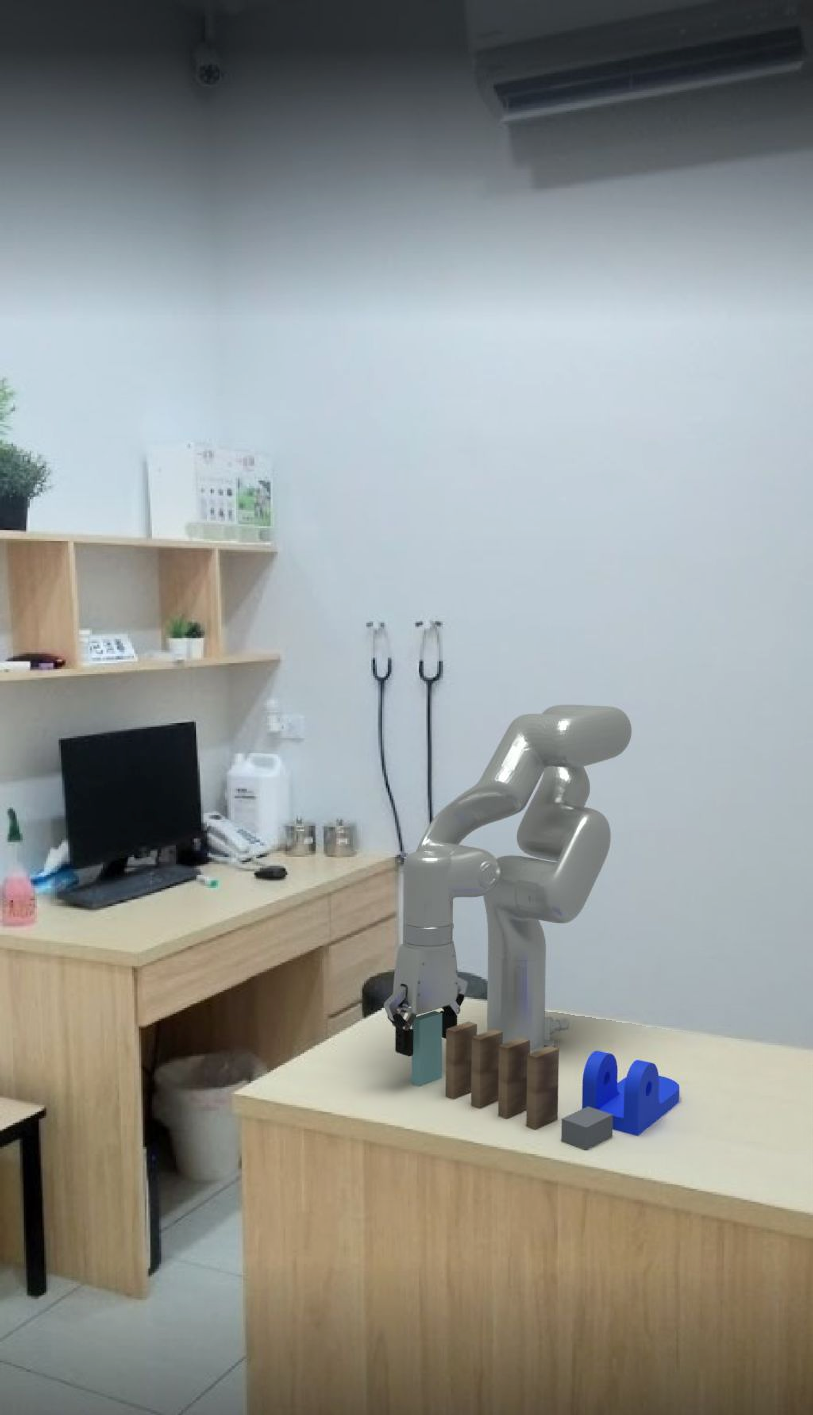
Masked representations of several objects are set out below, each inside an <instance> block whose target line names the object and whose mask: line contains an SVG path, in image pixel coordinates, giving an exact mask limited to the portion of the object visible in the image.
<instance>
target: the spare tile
mask: <svg viewBox="0 0 813 1415" xmlns="http://www.w3.org/2000/svg"><path fill="white" fill-rule="evenodd" d="M411 1029H413V1031H414V1040H413V1055H412V1056H411V1084H412V1085H415V1086H417V1087H421V1086H424V1085H427V1084H429V1083H432V1082H434V1081H437V1080H440V1079H442V1078H443V1038H442V1013H440V1011H437V1010H433V1011H430V1012H426V1013H423V1014H419V1015H417V1016H416V1018H415V1020H414V1022H413V1024H412V1026H411Z"/></svg>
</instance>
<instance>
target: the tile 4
mask: <svg viewBox="0 0 813 1415" xmlns="http://www.w3.org/2000/svg"><path fill="white" fill-rule="evenodd" d="M527 1054H530V1040H529V1039H525V1038H522V1037H521V1038H518V1039H515V1040H513V1041H510V1042H507V1043H505V1044H502V1045H499V1081H498V1102H497V1117H499V1118H502V1119H506V1120H508V1119H511V1118H514V1117H515V1116H517V1115H521V1114H522V1113H524V1112H527Z"/></svg>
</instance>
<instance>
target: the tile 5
mask: <svg viewBox="0 0 813 1415" xmlns="http://www.w3.org/2000/svg"><path fill="white" fill-rule="evenodd" d="M559 1054H560V1049H559V1048H558V1047H555V1046H554V1047H552V1046H548V1047H545V1048H543V1049H540V1050H538V1051H535V1052H533V1053H530V1054H527V1111H526V1117H525V1118H526V1121H525V1122H526V1124H525V1125H526V1127H527V1128H529V1129H532V1130H536V1131H537V1130H538V1129H541V1128H543V1127H545V1126H547V1125H549V1124H551V1123H553V1122H556V1121H558V1119H559V1071H560V1070H559V1067H560V1066H559V1064H560V1063H559V1062H560V1061H559V1060H560V1056H559Z"/></svg>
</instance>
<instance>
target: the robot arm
mask: <svg viewBox="0 0 813 1415" xmlns="http://www.w3.org/2000/svg"><path fill="white" fill-rule="evenodd" d="M632 733H633V732H632V723H631V721H630V719H629V717H628V716H627V714H626V712H624V711H623V709H620V708H618V707H615V706H611V705H610V706H607V705H604V706H603V705H585V704H557V705H552V706H549V707H547V708H545V710H543V712H541V713H525V714H521V715H519V716H517V717H516V718H515V719H513V720H512V721H511V723H510V724H509V725H508V727H507V729H506V731H505V733H504V735H503V737H502V738H501V740H500V742H499V744H498V745H497V747H496V750H495V751H494V753H493V755H492V756H491V759H490V760H489V762H488V764H487V766H486V768H485V769H484V771H483V773H482V776H481V778H480V779H479V780H478V782H477V783H476V784H474V785H473V786H471V787H470V788H469V789H467V790H465V791H464V792H463V793H461V794H460V795H458V796H457V797H456V798H455V799H453V801H451V802H449V804H447V805H446V806H445V807H443V808H442V809H441V810H440V811H439V812H438V813H437V814H436V815H435V816H434V817H433V819H432V820H431V821H430V823H429V825H428V826H427V828H426V830H425V832H424V834H423V836H422V838H421V839H420V842H419V843H418V846H417V847H416V850H415V851H414V852H411V853H409V854H407V855H406V856H405V858H404V861H403V877H402V878H403V880H402V881H403V882H402V883H403V884H402V885H403V886H402V887H403V890H402V891H403V893H402V896H403V898H402V905H403V906H402V907H403V908H402V909H403V910H402V944H399V946H398V949H397V954H396V958H395V959H396V960H395V967H394V976H393V985H392V986H393V987H392V989H393V990H392V994H391V995H390V996H389V997H388V999H386V1001H384V1003H383V1008H384V1010H385V1012H386V1015H387V1019H388V1021H390V1023H391V1025H392V1027H394V1028H395V1032H394V1033H395V1039H394V1040H395V1044H394V1045H395V1046H394V1048H395V1050H394V1051H395V1053H397V1054H400V1055H404V1056H406V1057H412V1055H413V1040H414V1031H413V1029H412V1024H413V1022H414V1020H415V1018H416V1017H417V1016H420V1015H423V1014H426V1013H429V1012H432V1011H437V1010H439V1009H442V1010H440V1011H439V1012H440V1013H442V1039H444V1040H446V1029H448V1028H451V1027H454V1026H457V1025H458V1015H459V1014H460V1013H461V1006H462V1004H463V1003H464V1000H465V994H466V991H467V988H468V986H469V985H468V984H469V982H468V981H467V980H466V979H463V978H462V977H459V976H458V964H457V963H458V962H457V954H456V947H455V941H454V938H453V936H454V935H453V934H454V933H453V931H454V930H453V929H454V928H455V925H454V920H453V919H454V899H456V898H478V897H483V901H484V906H485V914H486V922H487V987H486V988H487V996H486V999H487V1001H486V1002H487V1005H486V1006H487V1008H486V1009H487V1010H486V1031H484V1032H483V1033H485V1032H488V1031H491V1030H493V1029H495V1030H499V1031H502V1032H503V1044H505V1043H507V1042H510V1041H513V1040H515V1039H518V1038H521V1037H522V1038H525V1039H529V1040H530V1053H533V1052H535V1051H538V1050H540V1049H543V1048H545V1047H548V1046H552V1047H555V1041H554V1039H553V1037H551V1035H553V1034H554V1033H555V1032H563V1031H567V1030H569V1028H570V1022H569V1020H568V1018H566V1017H564V1018H558V1019H554V1018H553V1017H552V1016H547V1017H546V971H547V970H546V966H547V965H546V959H547V957H546V956H547V942H546V937H545V932H544V929H543V926H542V924H541V921H543V922H546V923H547V922H548V923H554V924H567V923H570V922H572V921H573V920H574V919H575V918H577V917H578V915H580V913H581V911H582V910H583V908H584V906H585V904H586V903H587V900H588V899H589V896H590V894H591V892H592V890H593V888H594V885H595V883H596V881H597V879H598V876H599V875H600V873H601V870H602V868H603V866H604V864H605V861H606V859H607V857H608V855H609V852H610V847H611V846H610V845H611V837H612V836H611V834H612V832H611V826H610V823H609V821H608V819H607V818H606V816H605V815H604V814H603V813H601V812H600V811H599V810H597V809H594V808H590V807H585V806H586V804H587V801H588V798H589V796H590V793H591V792H590V791H591V785H590V784H591V783H590V779H589V775H588V774H587V771H586V769H585V767H587V766H592V765H594V764H597V763H601V762H603V761H607V760H610V759H614V758H616V757H618V756H620V755H621V754H622V753H623V752H624V751H625V750H626V749H627V748H628V746H629V743H630V742H631V738H632ZM541 777H542V778H541ZM540 779H541V780H540ZM539 780H540V782H539ZM538 783H539V784H538ZM537 784H538V786H537ZM536 787H537V789H536ZM534 791H535V793H534V795H533V792H534ZM532 795H533V797H532V798H531V796H532ZM530 799H531V800H530ZM529 800H530V802H529ZM528 802H529V804H528ZM527 804H528V807H527ZM526 807H527V809H526V810H525V808H526ZM523 810H525V813H524V814H523V817H522V819H521V820H520V823H519V825H518V828H517V831H516V832H517V833H516V841H517V842H516V843H517V845H518V847H519V849H520V850H521V851H522V852H523V853H524V854H527V855H528V856H522V855H512V854H511V855H503V856H499V857H497V858H496V856H494V855H493V854H492V853H491V852H489V851H487V850H485V849H483V848H478V847H474V846H467V845H462V844H460V843H461V842H462V841H463V840H464V839H466V837H468V835H470V834H471V833H472V832H474V831H476V830H478V829H480V828H482V827H484V826H486V825H488V824H492V823H494V822H495V823H496V822H498V821H502V820H504V819H507V818H509V817H512V816H514V815H517V814H519V813H521V812H522V811H523ZM529 856H530V857H529ZM406 1014H407V1016H406V1018H404V1017H405V1015H406Z"/></svg>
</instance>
